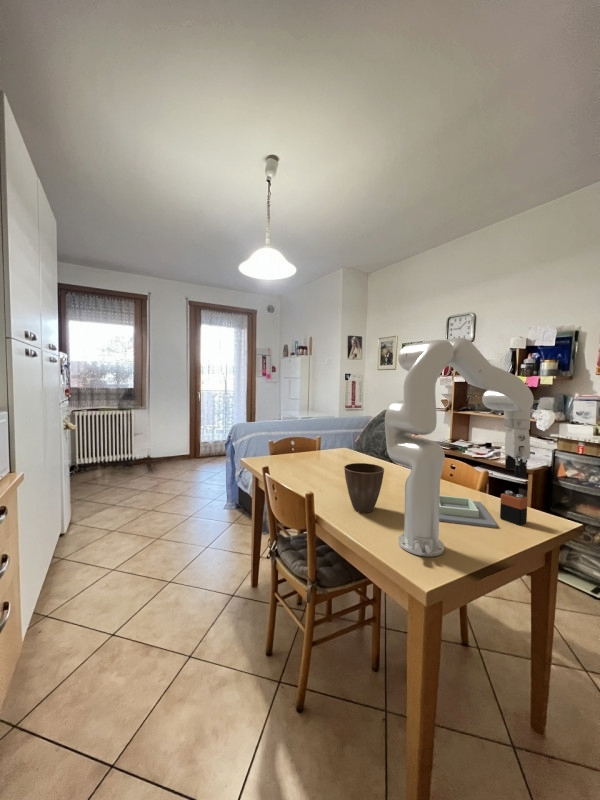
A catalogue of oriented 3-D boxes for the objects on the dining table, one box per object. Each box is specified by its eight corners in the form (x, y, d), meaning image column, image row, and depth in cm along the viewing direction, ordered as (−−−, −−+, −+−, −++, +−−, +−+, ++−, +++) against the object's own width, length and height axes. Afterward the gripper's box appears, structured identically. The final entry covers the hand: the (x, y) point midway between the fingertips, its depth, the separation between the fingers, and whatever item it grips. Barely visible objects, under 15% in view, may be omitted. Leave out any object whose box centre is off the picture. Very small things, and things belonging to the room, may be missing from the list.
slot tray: (497, 528, 104) (497, 517, 104) (425, 519, 111) (426, 509, 111) (480, 504, 125) (480, 495, 125) (421, 498, 132) (421, 490, 132)
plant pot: (347, 499, 130) (348, 461, 129) (385, 504, 125) (385, 464, 124) (340, 513, 116) (340, 470, 115) (381, 519, 111) (382, 474, 110)
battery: (505, 516, 114) (506, 489, 114) (527, 523, 108) (528, 494, 108) (499, 518, 112) (500, 491, 111) (520, 526, 106) (521, 497, 106)
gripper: (540, 427, 99) (538, 481, 100) (519, 421, 116) (518, 467, 116) (512, 427, 101) (511, 479, 102) (496, 420, 118) (495, 466, 119)
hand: (515, 473), depth 109 cm, fingers open, 9 cm apart
